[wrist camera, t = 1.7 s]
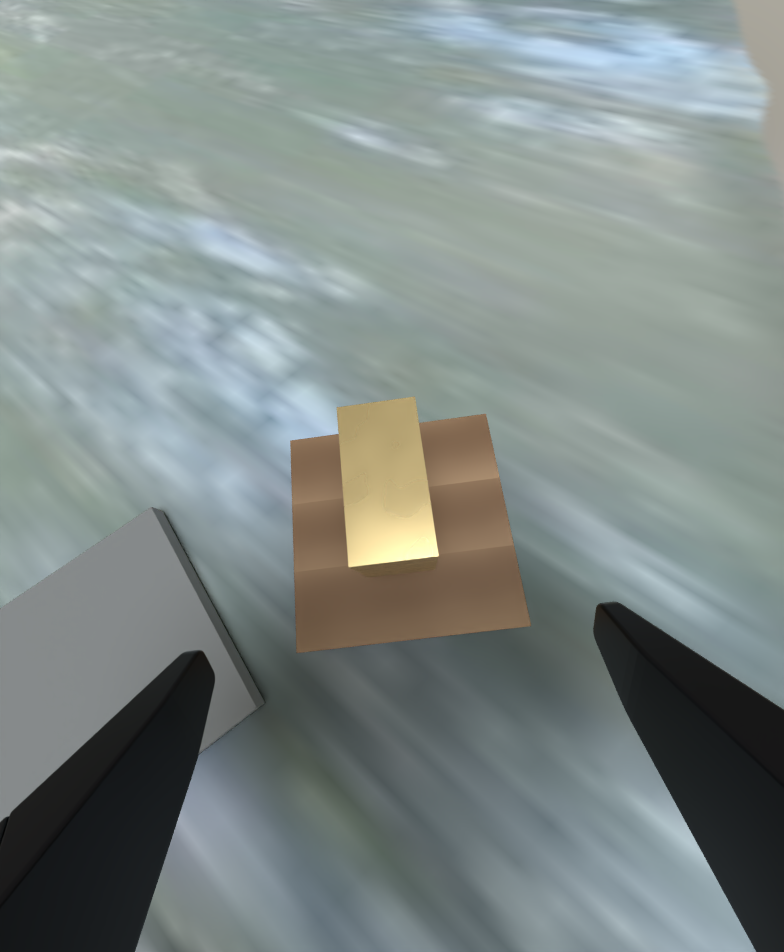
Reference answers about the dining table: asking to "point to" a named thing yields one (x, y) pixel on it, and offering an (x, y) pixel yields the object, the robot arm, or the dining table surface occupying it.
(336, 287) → the dining table surface
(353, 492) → the t key
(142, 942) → the dining table surface
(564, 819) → the dining table surface
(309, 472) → the slot block
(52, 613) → the mat
